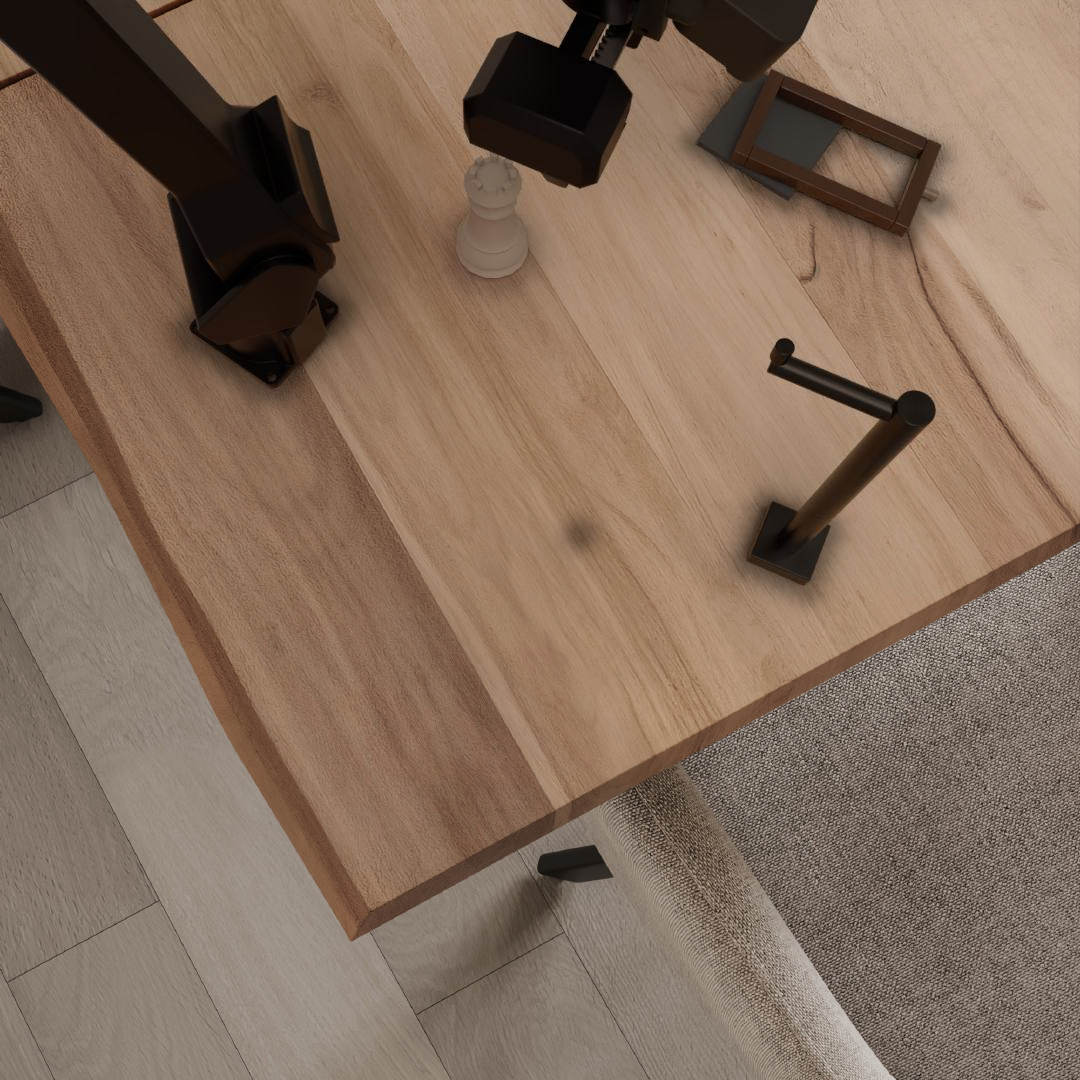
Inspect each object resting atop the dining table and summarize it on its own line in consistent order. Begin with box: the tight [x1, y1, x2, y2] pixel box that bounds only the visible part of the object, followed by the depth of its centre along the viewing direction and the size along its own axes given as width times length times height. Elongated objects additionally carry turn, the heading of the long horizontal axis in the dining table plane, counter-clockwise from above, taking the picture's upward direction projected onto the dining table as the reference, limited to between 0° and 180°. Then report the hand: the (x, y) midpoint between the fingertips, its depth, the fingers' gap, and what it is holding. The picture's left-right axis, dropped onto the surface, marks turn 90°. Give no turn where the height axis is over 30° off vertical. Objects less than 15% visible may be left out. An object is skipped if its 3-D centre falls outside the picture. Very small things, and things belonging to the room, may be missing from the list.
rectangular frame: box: [730, 68, 943, 237], centre depth 70 cm, size 1×7×13 cm
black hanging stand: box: [746, 337, 937, 586], centre depth 53 cm, size 8×4×20 cm, turn 66°
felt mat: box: [696, 73, 844, 201], centre depth 71 cm, size 7×7×1 cm
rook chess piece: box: [455, 152, 529, 279], centre depth 64 cm, size 4×4×8 cm
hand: (593, 111), depth 56 cm, fingers open, 9 cm apart
